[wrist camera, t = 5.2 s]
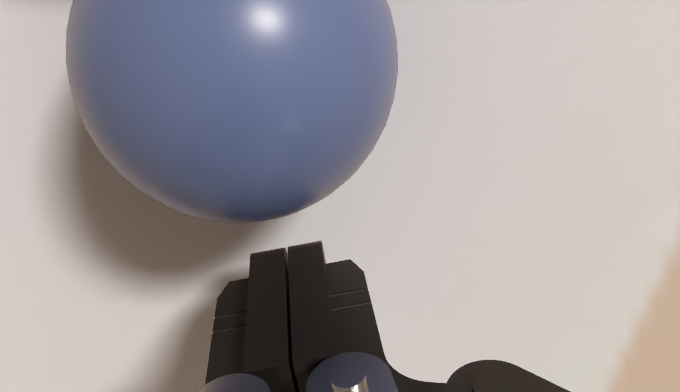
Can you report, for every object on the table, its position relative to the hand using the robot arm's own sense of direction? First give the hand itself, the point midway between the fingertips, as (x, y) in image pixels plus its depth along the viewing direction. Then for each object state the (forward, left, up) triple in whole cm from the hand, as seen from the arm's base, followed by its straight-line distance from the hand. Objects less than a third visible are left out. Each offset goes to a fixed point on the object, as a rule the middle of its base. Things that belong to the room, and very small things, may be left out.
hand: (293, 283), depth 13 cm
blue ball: (-5, 0, +1) cm, 5 cm away
